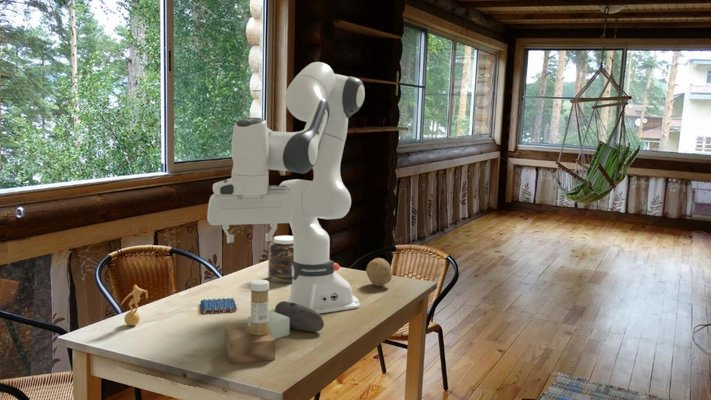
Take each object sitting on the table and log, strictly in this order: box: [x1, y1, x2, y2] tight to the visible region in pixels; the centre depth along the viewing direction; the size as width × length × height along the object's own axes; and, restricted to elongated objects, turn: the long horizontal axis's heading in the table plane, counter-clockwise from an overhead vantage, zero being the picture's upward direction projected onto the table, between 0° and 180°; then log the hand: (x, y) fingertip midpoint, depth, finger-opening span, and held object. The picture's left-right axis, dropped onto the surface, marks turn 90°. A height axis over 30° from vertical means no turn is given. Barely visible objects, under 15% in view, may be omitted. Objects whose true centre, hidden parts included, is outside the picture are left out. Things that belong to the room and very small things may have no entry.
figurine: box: [120, 284, 149, 327], centre depth 174 cm, size 8×6×12 cm
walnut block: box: [224, 325, 276, 365], centre depth 159 cm, size 11×11×5 cm
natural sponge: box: [365, 257, 393, 288], centre depth 220 cm, size 9×9×10 cm
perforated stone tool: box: [274, 300, 325, 333], centre depth 177 cm, size 15×5×7 cm, turn 61°
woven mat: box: [200, 297, 238, 315], centre depth 193 cm, size 10×11×2 cm
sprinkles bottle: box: [249, 279, 270, 336], centre depth 158 cm, size 5×5×13 cm
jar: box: [267, 235, 294, 284], centre depth 225 cm, size 12×12×15 cm
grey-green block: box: [247, 310, 290, 340], centre depth 172 cm, size 8×8×5 cm
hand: (249, 241), depth 155 cm, fingers open, 8 cm apart
